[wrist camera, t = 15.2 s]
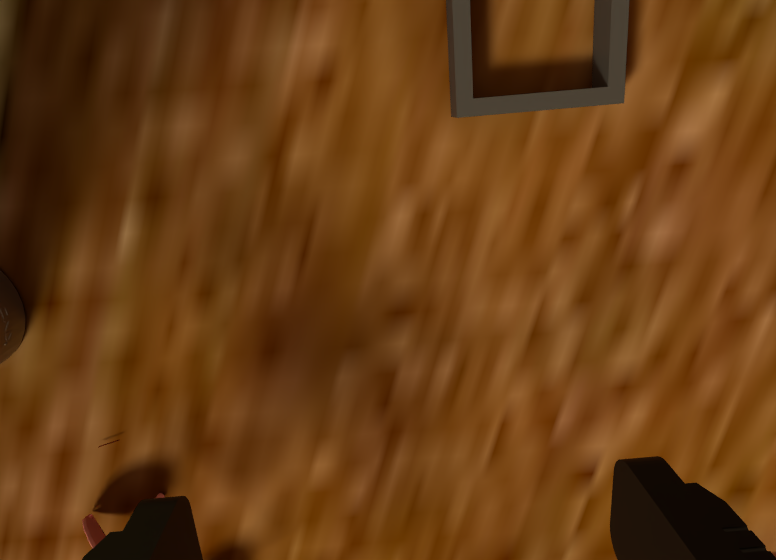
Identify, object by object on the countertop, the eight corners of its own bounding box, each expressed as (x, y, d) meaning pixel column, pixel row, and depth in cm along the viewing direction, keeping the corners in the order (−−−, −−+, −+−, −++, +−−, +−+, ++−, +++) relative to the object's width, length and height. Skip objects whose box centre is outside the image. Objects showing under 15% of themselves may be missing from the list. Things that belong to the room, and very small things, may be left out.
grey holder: (451, 116, 35) (456, 117, 32) (443, -62, 31) (449, -76, 29) (606, 103, 34) (624, 103, 32) (614, -77, 31) (634, -92, 29)
